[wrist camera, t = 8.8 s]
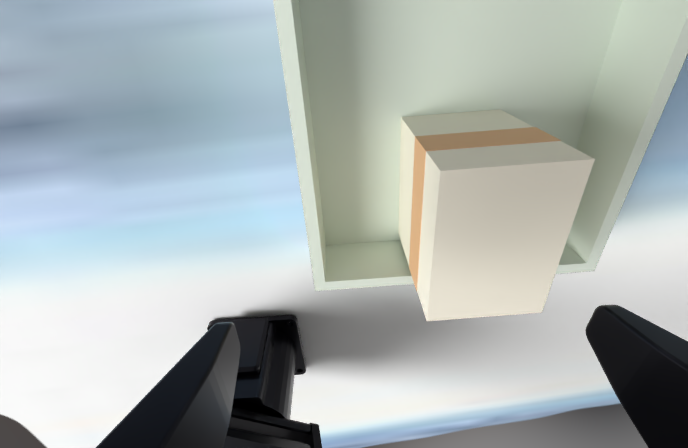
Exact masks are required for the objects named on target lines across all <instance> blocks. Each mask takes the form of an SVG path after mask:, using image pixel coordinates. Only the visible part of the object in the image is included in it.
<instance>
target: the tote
mask: <svg viewBox="0 0 688 448" xmlns="http://www.w3.org/2000/svg"><path fill="white" fill-rule="evenodd" d="M273 3H274V10H275V17H276V23H277V30H278V37H279V44H280V51H281V58H282V65H283V72H284V79H285V86H286V93H287V100H288V107H289V113H290V120H291V127H292V134H293V141H294V148H295V155H296V162H297V169H298V176H299V183H300V190H301V197H302V203H303V210H304V217H305V224H306V231H307V238H308V245H309V252H310V259H311V266H312V273H313V280H314V286H315V291H325V290H339V289H353V288H367V287H381V286H395V285H408V284H414V282H413V279H412V276H411V272H410V269H409V265H408V262H407V258H406V255H405V252H404V249H403V246H402V243H401V240H400V237H399V234H398V227H399V183H400V138H401V117H408V116H421V115H433V114H446V113H459V112H472V111H485V110H498V109H501V110H503V111H505V112H506V113H508V114H510V115H512V116H514V117H516V118H518V119H520V120H522V121H524V122H525V123H527V124H529V125H531V126H533V127H537V128H538V129H540V130H542V131H544V132H546V133H548V134H550V135H552V136H554V137H556V138H558V139H560V140H561V141H562V142H563V143H565V144H567V145H569V146H571V147H573V148H575V149H577V150H579V151H581V152H582V153H584V154H586V155H588V156H590V157H592V158H594V159H595V161H594V163H593V166H592V169H591V172H590V175H589V178H588V181H587V184H586V187H585V189H584V192H583V195H582V198H581V201H580V204H579V207H578V210H577V213H576V215H575V218H574V221H573V224H572V227H571V230H570V233H569V236H568V239H567V241H566V244H565V247H564V250H563V253H562V256H561V259H560V262H559V265H558V268H557V270H556V273H555V274H562V273H576V272H590V271H594V270H595V268H596V266H597V263H598V261H599V259H600V256H601V254H602V252H603V249H604V247H605V245H606V242H607V240H608V238H609V235H610V233H611V231H612V228H613V226H614V224H615V221H616V219H617V217H618V214H619V212H620V210H621V207H622V205H623V203H624V200H625V198H626V196H627V194H628V191H629V189H630V187H631V184H632V182H633V180H634V177H635V175H636V173H637V170H638V168H639V166H640V163H641V161H642V159H643V156H644V154H645V152H646V149H647V147H648V145H649V142H650V140H651V138H652V135H653V133H654V131H655V128H656V126H657V124H658V121H659V119H660V117H661V114H662V112H663V110H664V107H665V105H666V103H667V100H668V98H669V96H670V94H671V91H672V89H673V87H674V84H675V82H676V80H677V77H678V75H679V73H680V70H681V68H682V66H683V63H684V61H685V59H686V56H687V54H688V0H273Z"/></svg>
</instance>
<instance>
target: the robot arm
mask: <svg viewBox="0 0 688 448" xmlns="http://www.w3.org/2000/svg"><path fill="white" fill-rule="evenodd" d="M207 329H208V331H207V332H206V333H205V335H204V336H203V337H202V338H201V339H200V340H199V341H198V342H197V343H196V344H195V345H194V346H193V347H192V348H191V349H190V350H189V351H188V352H187V353H186V354H185V355H184V356H183V357H182V358H181V359H180V361H179V362H178V363H177V364H176V365H175V366H174V367H173V368H172V369H171V370H170V371H169V372H168V373H167V374H166V375H165V376H164V377H163V378H162V379H161V380H160V381H159V382H158V383H157V384H156V386H155V387H154V388H153V389H152V390H151V391H150V392H149V393H148V394H147V395H146V396H145V397H144V398H143V399H142V400H141V401H140V402H139V403H138V404H137V405H136V406H135V407H134V408H133V409H132V410H131V412H130V413H129V414H128V415H127V416H126V417H125V418H124V419H123V420H122V421H121V422H120V423H119V424H118V425H117V426H116V427H115V428H114V429H113V430H112V431H111V432H110V433H109V434H108V435H107V436H106V438H105V439H104V440H103V441H102V442H101V443H100V444H99V445H98V446H97V447H96V448H322V444H321V437H320V431H319V425H318V424H314V423H310V424H307V423H302V422H298V421H294V420H290V414H291V404H292V394H293V384H294V375H299V374H304V373H305V372H306V363H305V358H304V353H303V348H302V342H301V337H300V332H299V327H298V322H297V318H296V317H295V316H293V315H283V316H269V317H255V318H241V319H227V320H214V321H211V322H210V323H209V325H208V328H207ZM586 336H587V338H588V341H589V343H590V345H591V346H592V348H593V350H594V352H595V354H596V356H597V358H598V360H599V362H600V364H601V366H602V368H603V370H604V372H605V374H606V376H607V378H608V380H609V382H610V384H611V386H612V388H613V390H614V392H615V394H616V395H617V397H618V399H619V401H620V402H621V404H622V406H623V408H624V409H625V410H626V412H627V414H628V415H629V417H630V419H631V420H632V422H633V424H634V425H635V427H636V428H637V430H638V431H639V433H640V435H641V436H642V438H643V440H644V441H645V443H646V444H647V446H648V448H688V341H686V340H684V339H682V338H680V337H678V336H676V335H674V334H672V333H670V332H668V331H666V330H665V329H663V328H661V327H659V326H657V325H655V324H653V323H651V322H649V321H647V320H645V319H643V318H642V317H640V316H638V315H636V314H634V313H632V312H630V311H628V310H626V309H624V308H622V307H620V306H618V305H601V306H599V307H597V308H596V309H595V311H594V313H593V315H592V317H591V319H590V321H589V323H588V325H587V327H586Z"/></svg>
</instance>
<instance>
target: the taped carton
mask: <svg viewBox="0 0 688 448" xmlns="http://www.w3.org/2000/svg"><path fill="white" fill-rule="evenodd" d="M594 161H595V159H594V158H592V157H590V156H588V155H586V154H584V153H582V152H581V151H579V150H577V149H575V148H573V147H571V146H569V145H567V144H565V143H563V142H562V141H561V140H560V139H558V138H556V137H554V136H552V135H550V134H548V133H546V132H544V131H542V130H540V129H538V128H537V127H533V126H531V125H529V124H527V123H525V122H524V121H522V120H520V119H518V118H516V117H514V116H512V115H510V114H508V113H506V112H505V111H503V110H501V109H498V110H485V111H472V112H459V113H446V114H433V115H421V116H408V117H401V138H400V183H399V227H398V234H399V237H400V240H401V243H402V246H403V249H404V252H405V255H406V258H407V262H408V265H409V269H410V272H411V276H412V279H413V282H414V285H415V288H416V291H417V293H418V296H419V299H420V302H421V305H422V308H423V311H424V314H425V318H426V321H438V320H451V319H465V318H478V317H491V316H504V315H518V314H531V313H542V311H543V308H544V305H545V302H546V299H547V296H548V294H549V291H550V288H551V285H552V282H553V279H554V276H555V273H556V270H557V268H558V265H559V262H560V259H561V256H562V253H563V250H564V247H565V244H566V241H567V239H568V236H569V233H570V230H571V227H572V224H573V221H574V218H575V215H576V213H577V210H578V207H579V204H580V201H581V198H582V195H583V192H584V189H585V187H586V184H587V181H588V178H589V175H590V172H591V169H592V166H593V163H594Z"/></svg>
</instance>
